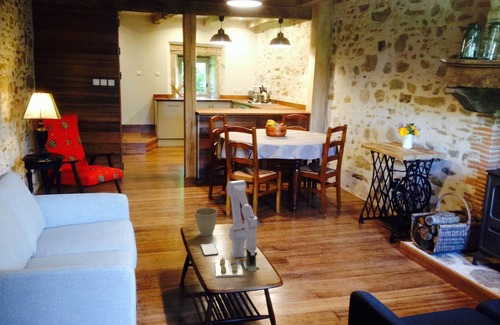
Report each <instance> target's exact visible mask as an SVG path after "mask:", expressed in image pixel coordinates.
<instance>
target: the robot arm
mask: <svg viewBox="0 0 500 325" xmlns="http://www.w3.org/2000/svg"><path fill="white" fill-rule="evenodd" d="M226 189H227V190H226V191H227V195H228V196H229V197H230V204H231V214H232V221H233V222H232V223H233V224H232V225H231V226H230V227H229V229H228V230H229V233H228V236H229V240H230V241H231V242H232V246H231V247H232V248H231V250H230V252H231V253H230V254H231V257H232V258H233V257H234V258H246V255H248V258H249V263H250V264H254V260H255V257H256V258H257V255H258V252H257V251H256V250H257V248H258V245H257V243H258V242H257V232H258V231H257V228H259V226H260V225H259V224H260V222H259V218H258V217H257V216H256V214H254V211H253V207H252V206H251V204H249V201H248V198H247V193H246V191H247V183H246V181H245V180H244V179H240V180H232V181H231V180H229V181H228V182H227V185H226ZM242 216H243V219H244V222H243V220H242ZM243 223H244V224H243Z"/></svg>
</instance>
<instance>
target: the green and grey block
mask: <svg viewBox="0 0 500 325" xmlns="http://www.w3.org/2000/svg"><path fill="white" fill-rule="evenodd" d="M242 265H243V270H247V271H248V272H255V271H256V270H259V269H260V266H259V265H260V264H259V262H258V261H257V256H256V257H255V260H254V264H250V263H249V258H248V255H247V254H246V257H245V261H242Z"/></svg>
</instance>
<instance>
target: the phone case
mask: <svg viewBox="0 0 500 325" xmlns="http://www.w3.org/2000/svg"><path fill="white" fill-rule="evenodd" d="M199 245H200V246H199V247H200V249H201V252H202V255H203V257H211V256H219V252H218V250H217V247H216V245H215V243H214V242H208V243H201V244H199Z"/></svg>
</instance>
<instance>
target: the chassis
mask: <svg viewBox="0 0 500 325" xmlns="http://www.w3.org/2000/svg"><path fill="white" fill-rule="evenodd" d="M214 265H215V266H214V267H215V278H229V277H244V273H243V272H244V271H243V267H242V263H241V259H236V258H235V257H232V258H231V259H224V257H221V259H220V260H214Z"/></svg>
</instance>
